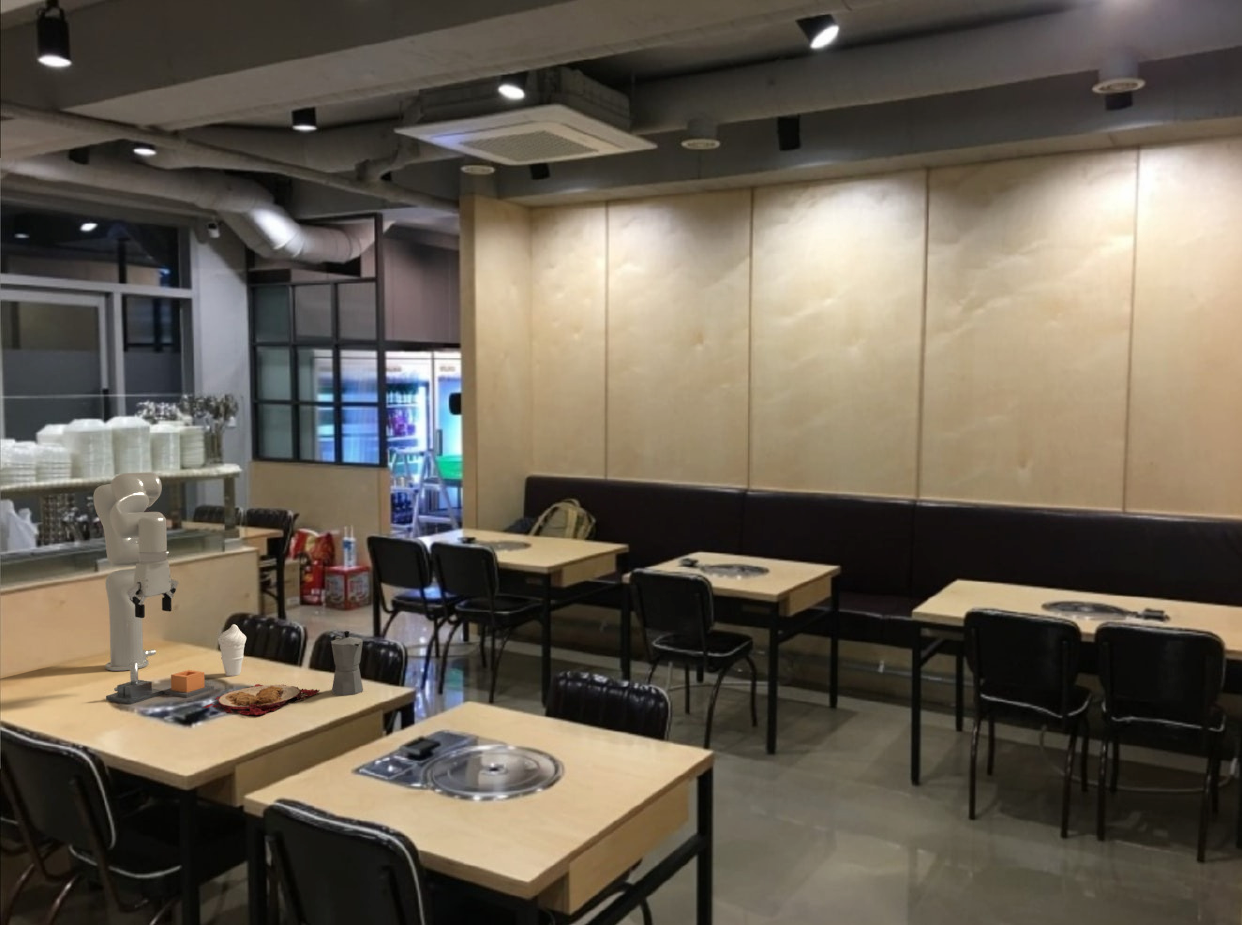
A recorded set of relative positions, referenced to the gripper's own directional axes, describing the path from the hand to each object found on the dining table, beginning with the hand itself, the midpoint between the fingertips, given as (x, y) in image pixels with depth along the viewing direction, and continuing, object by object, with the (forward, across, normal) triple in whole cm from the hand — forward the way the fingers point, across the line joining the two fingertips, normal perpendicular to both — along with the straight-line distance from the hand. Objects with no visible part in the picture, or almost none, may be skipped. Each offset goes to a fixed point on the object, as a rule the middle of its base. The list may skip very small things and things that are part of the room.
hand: (153, 614), depth 297 cm
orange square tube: (+21, -2, +12) cm, 24 cm away
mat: (+22, -2, +12) cm, 25 cm away
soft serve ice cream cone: (+23, -22, +9) cm, 33 cm away
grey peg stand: (+22, +9, +2) cm, 24 cm away
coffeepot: (+21, -20, +54) cm, 62 cm away
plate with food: (+22, -2, +38) cm, 44 cm away
